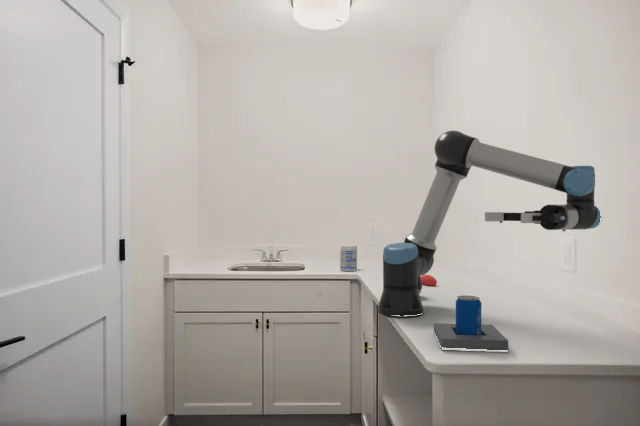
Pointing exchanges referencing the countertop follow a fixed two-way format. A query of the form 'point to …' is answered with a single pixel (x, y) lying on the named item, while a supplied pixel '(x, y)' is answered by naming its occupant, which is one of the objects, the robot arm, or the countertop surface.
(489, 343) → the socket plate
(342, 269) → the supplement tub
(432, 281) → the stress ball
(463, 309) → the beverage can
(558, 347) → the countertop surface
